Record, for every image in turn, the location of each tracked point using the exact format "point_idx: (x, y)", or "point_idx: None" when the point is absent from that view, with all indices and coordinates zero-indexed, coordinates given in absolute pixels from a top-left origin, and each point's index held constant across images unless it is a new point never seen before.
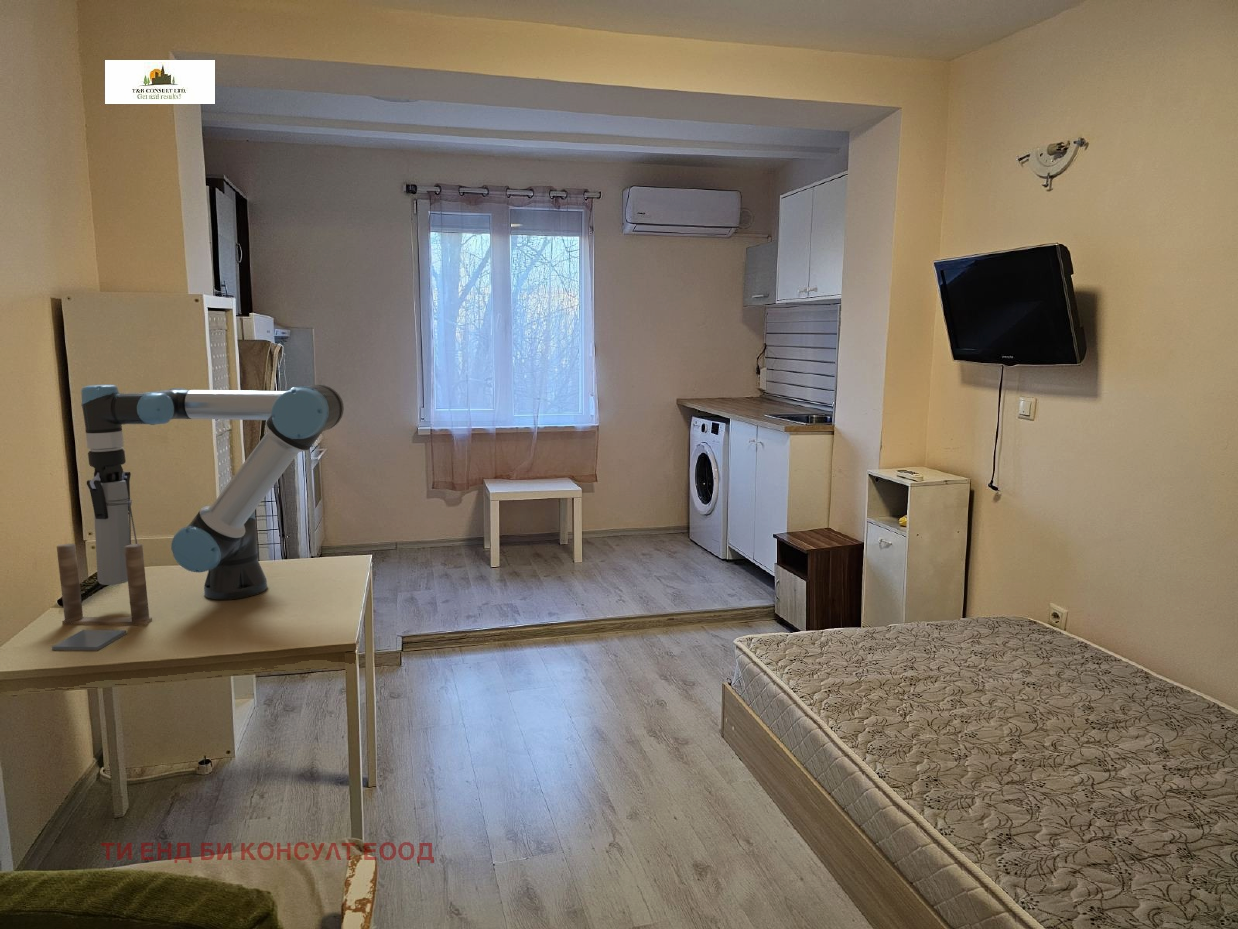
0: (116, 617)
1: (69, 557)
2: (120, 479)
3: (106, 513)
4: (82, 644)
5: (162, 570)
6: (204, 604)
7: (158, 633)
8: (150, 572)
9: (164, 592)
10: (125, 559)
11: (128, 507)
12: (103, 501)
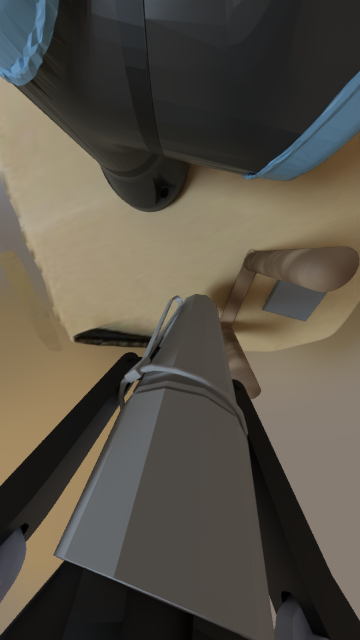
0: (233, 291)
1: (252, 371)
2: (93, 603)
3: (239, 394)
4: (316, 296)
5: (67, 297)
6: (201, 195)
7: (307, 223)
8: (76, 307)
9: (142, 270)
10: (208, 305)
11: (129, 361)
12: (267, 451)
